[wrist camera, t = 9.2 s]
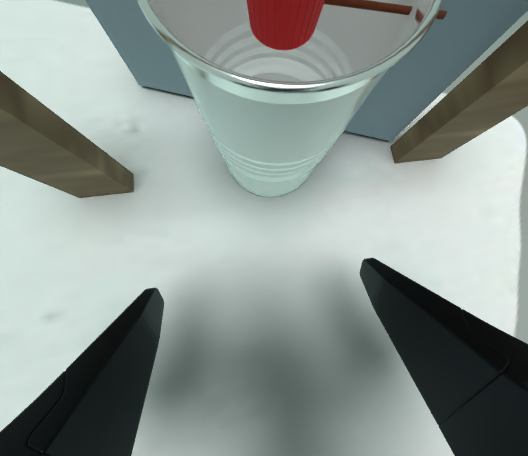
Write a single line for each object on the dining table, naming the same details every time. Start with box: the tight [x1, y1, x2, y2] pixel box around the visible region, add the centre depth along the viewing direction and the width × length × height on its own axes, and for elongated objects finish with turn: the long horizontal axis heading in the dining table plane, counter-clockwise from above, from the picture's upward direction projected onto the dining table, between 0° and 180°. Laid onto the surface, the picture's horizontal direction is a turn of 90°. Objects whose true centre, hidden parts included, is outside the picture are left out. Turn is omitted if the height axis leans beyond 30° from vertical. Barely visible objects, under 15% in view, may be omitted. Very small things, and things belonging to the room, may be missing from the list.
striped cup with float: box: [137, 0, 447, 197], centre depth 12 cm, size 10×8×12 cm
